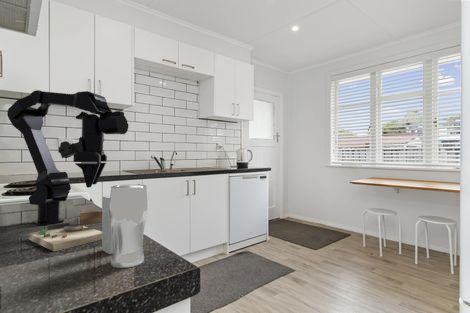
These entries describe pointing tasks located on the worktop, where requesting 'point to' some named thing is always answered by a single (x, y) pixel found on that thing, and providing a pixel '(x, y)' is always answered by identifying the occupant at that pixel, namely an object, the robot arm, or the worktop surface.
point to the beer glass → (128, 224)
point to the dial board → (65, 237)
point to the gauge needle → (85, 219)
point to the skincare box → (106, 227)
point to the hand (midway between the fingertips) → (91, 185)
